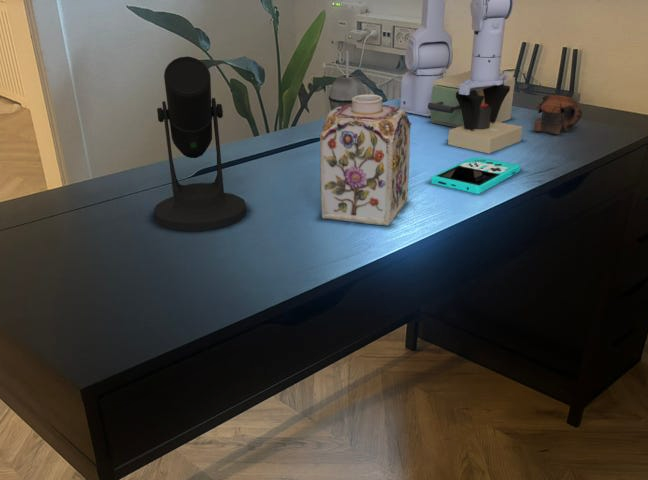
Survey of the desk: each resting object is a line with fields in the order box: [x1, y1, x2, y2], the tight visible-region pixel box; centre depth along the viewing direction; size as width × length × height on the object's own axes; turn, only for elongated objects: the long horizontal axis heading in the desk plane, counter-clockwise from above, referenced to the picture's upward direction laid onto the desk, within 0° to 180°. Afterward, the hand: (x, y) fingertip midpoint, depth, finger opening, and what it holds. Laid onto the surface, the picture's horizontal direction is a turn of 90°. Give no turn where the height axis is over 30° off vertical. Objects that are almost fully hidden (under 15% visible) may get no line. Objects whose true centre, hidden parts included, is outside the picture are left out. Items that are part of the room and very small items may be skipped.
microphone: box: [153, 56, 247, 232], centre depth 114 cm, size 15×17×25 cm
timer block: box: [447, 122, 523, 155], centre depth 153 cm, size 11×12×3 cm
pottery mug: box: [533, 94, 583, 135], centre depth 160 cm, size 12×10×8 cm
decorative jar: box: [319, 93, 412, 227], centre depth 116 cm, size 12×12×18 cm
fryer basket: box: [428, 85, 477, 126], centre depth 164 cm, size 18×11×7 cm, turn 136°
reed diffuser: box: [328, 50, 367, 111], centre depth 141 cm, size 7×7×20 cm
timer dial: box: [475, 104, 492, 129], centre depth 152 cm, size 4×4×4 cm
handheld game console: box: [430, 157, 521, 195], centre depth 134 cm, size 10×16×1 cm, turn 141°
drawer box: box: [430, 70, 516, 128], centre depth 167 cm, size 14×12×9 cm
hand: (479, 125), depth 153 cm, fingers open, 7 cm apart
